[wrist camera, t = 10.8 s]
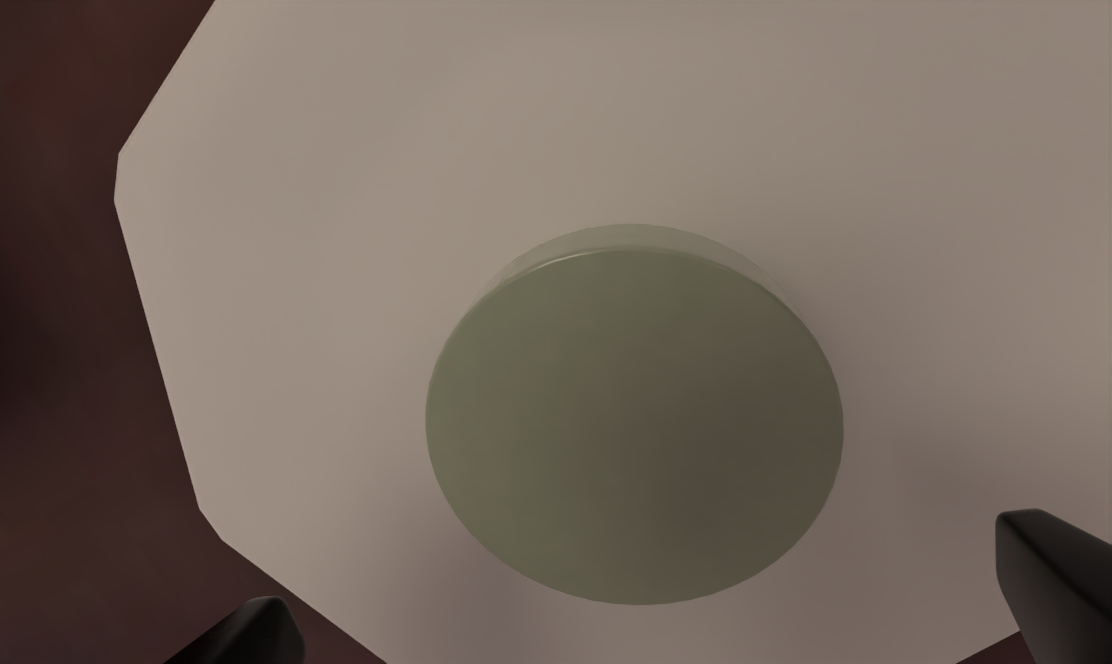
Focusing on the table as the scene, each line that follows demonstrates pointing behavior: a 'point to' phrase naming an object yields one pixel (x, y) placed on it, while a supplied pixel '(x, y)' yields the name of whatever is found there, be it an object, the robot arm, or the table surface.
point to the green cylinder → (634, 416)
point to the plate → (636, 198)
